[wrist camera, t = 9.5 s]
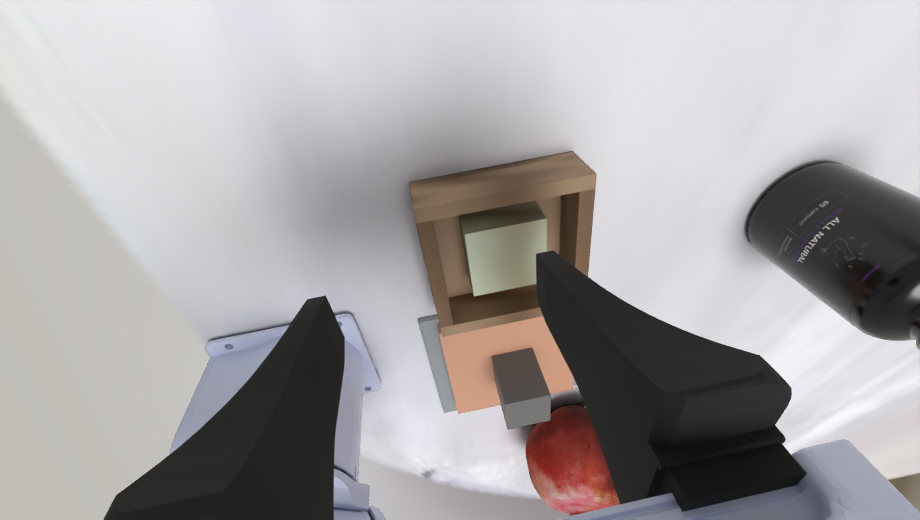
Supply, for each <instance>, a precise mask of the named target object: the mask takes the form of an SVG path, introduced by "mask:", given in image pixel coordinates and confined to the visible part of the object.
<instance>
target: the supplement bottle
mask: <svg viewBox="0 0 920 520" xmlns="http://www.w3.org/2000/svg"><path fill="white" fill-rule="evenodd" d="M748 236H749V240H750V242H751V244H752V245H753V246H754V248H755V249H757V250H758V251H759V252H760V253H761V254H763V255H764V256H765V257H766V258H767V259H769V260H770V261H771V262H773V263H774V264H775V265H776V266H778V267H779V268H780V269H782V270H783V271H784V272H785V273H787V274H788V275H789V276H790V277H792V278H793V279H794V280H796V281H797V282H798V283H799V284H801V285H802V286H803V287H805V288H806V289H807V290H808V291H810V292H811V293H812V294H814V295H815V296H816V297H817V298H819V299H820V300H821V301H823V302H824V303H825V304H826V305H828V306H829V307H830V308H831V309H833V310H834V311H835V312H837V313H838V314H839V315H840V316H842V317H843V318H844V319H846V320H847V321H848V322H849V323H851V324H852V325H853V326H855V327H856V328H858V329H859V330H860V331H862V332H863V333H865V334H867V335H870V336H872V337H876V338H879V339H884V340H891V341H906V340H916V346H917V348H918V349H919V350H920V198H919V197H917V196H915V195H913V194H910V193H908V192H906V191H904V190H901V189H899V188H897V187H895V186H892V185H890V184H888V183H886V182H883V181H881V180H879V179H877V178H874V177H872V176H870V175H868V174H865V173H863V172H860V171H858V170H856V169H853V168H851V167H849V166H846V165H843V164H839V163H821V164H816V165H812V166H809V167H806V168H803V169H801V170H799V171H797V172H794V173H793V174H791V175H789V176H787V177H786V178H784V179H783V180H782V181H780V182H779V183H778V184H776V185H775V186H774V187H773V188H772V189H771V190H770V191H769V192H768V193H767V194H766V195H765V196H764V197H763V198H762V199H761V200H760V202H759V203H758V205H757V206H756V208H755V209H754V211H753V213H752V215H751V218H750V221H749V225H748Z"/></svg>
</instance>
